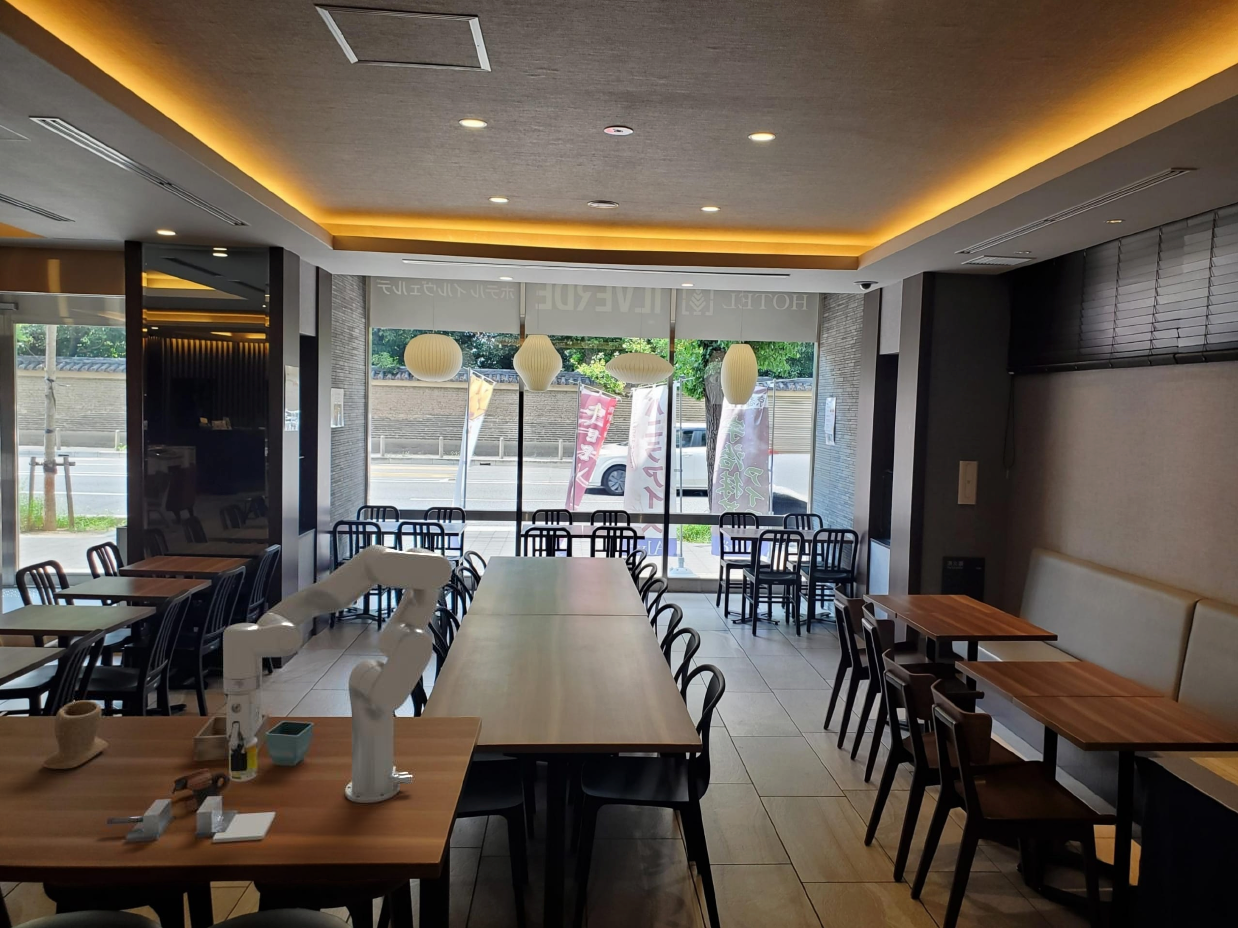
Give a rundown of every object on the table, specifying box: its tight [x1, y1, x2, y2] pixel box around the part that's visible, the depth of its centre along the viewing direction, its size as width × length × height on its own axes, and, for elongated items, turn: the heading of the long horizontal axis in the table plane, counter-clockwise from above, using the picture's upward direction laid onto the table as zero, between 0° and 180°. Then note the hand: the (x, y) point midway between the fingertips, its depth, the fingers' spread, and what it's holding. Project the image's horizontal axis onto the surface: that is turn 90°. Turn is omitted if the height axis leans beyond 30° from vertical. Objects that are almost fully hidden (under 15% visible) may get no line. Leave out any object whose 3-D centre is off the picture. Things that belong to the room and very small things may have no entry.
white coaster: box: [212, 811, 276, 843], centre depth 175 cm, size 10×10×1 cm
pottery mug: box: [171, 768, 231, 812], centre depth 187 cm, size 12×9×8 cm
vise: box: [106, 795, 239, 843], centre depth 174 cm, size 25×9×5 cm, turn 100°
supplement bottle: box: [228, 735, 258, 782], centre depth 173 cm, size 6×6×10 cm
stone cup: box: [42, 699, 109, 770], centre depth 206 cm, size 15×12×15 cm
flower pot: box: [265, 720, 315, 767], centre depth 207 cm, size 9×9×9 cm
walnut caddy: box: [193, 713, 270, 762], centre depth 215 cm, size 15×15×6 cm
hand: (243, 763), depth 174 cm, fingers closed on supplement bottle, 5 cm apart
